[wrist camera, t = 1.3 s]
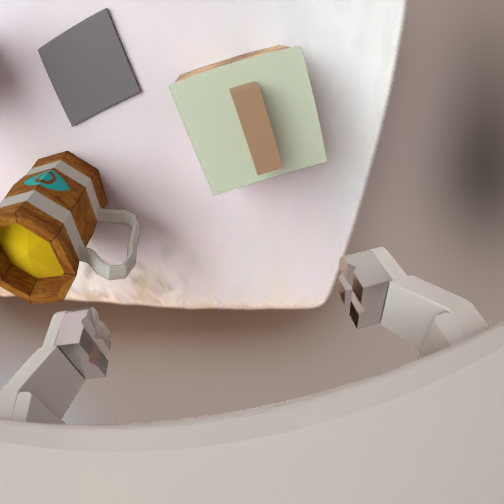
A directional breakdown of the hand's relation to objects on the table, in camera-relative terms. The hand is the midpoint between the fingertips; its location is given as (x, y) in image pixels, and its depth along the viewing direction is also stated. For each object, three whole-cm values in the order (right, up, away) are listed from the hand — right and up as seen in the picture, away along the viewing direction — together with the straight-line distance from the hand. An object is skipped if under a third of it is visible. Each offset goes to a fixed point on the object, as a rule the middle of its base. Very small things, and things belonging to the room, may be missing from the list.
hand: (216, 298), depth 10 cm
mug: (-23, +9, +30) cm, 39 cm away
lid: (+1, +14, +19) cm, 24 cm away
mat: (-18, +23, +19) cm, 35 cm away
